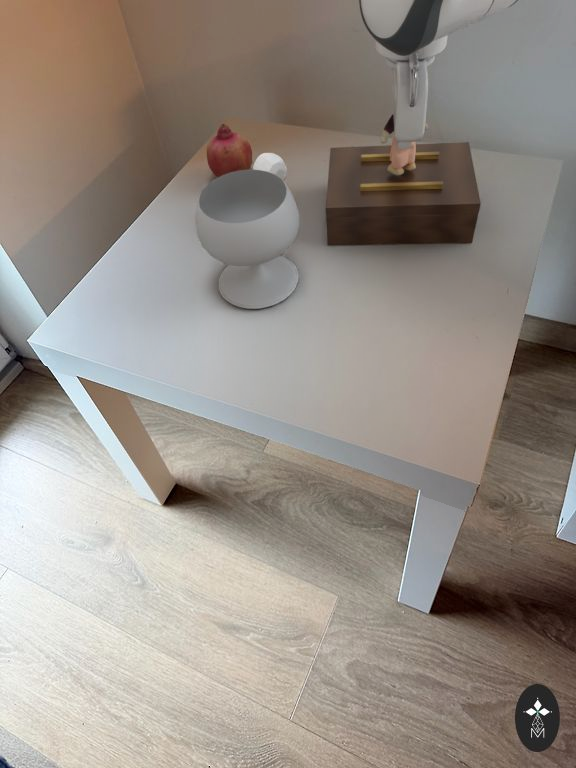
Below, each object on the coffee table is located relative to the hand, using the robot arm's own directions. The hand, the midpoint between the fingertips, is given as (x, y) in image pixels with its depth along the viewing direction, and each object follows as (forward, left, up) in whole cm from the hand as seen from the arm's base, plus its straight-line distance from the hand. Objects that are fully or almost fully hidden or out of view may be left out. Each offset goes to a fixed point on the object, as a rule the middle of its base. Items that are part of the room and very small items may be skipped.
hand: (403, 137), depth 77 cm
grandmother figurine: (0, 0, -5) cm, 5 cm away
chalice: (+21, +16, -13) cm, 29 cm away
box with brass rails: (0, 0, -13) cm, 13 cm away
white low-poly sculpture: (+24, 0, -13) cm, 27 cm away
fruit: (+29, -11, -13) cm, 34 cm away
